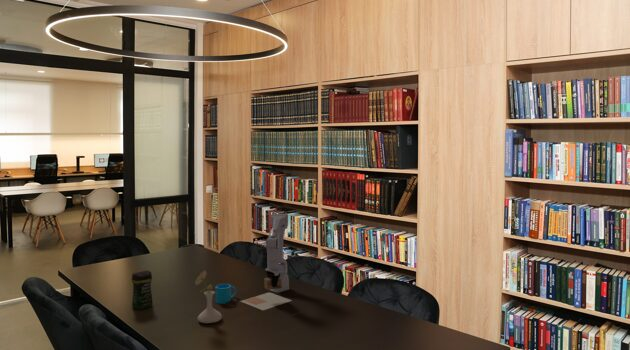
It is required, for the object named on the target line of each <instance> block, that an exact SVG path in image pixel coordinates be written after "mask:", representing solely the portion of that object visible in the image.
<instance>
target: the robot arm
mask: <svg viewBox="0 0 630 350" xmlns="http://www.w3.org/2000/svg"><path fill="white" fill-rule="evenodd" d="M269 216H270V218H269V219H270V220H269V221H270V224H271V229H270V231H269V234H268V237H267V238H266V240H265V246H266V255H267V256H266V257H267V258H266V259H267V260H266V261H267V266H266V267H267V268H265V270H264V271H265V273H266V276H267V278H269V277H270V278H271V282H272V287H277V282H278V279H279V277H280V278H281V281H282V288H279V289H271V290H270V291H272V292H275V293H281V292H285V291H288V290H290V278H289V275H288V262H287V259H285V258H283V255H284V254H283V253H284V237H285V235H284V234H285V230H286V229H288V227H289V214H288V213H270V215H269Z"/></svg>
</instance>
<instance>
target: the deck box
mask: <svg viewBox="0 0 630 350" xmlns="http://www.w3.org/2000/svg"><path fill="white" fill-rule="evenodd" d="M263 280H264V283H263V285H264V289H266V290H267V291H271V289H279V288H282V281H281V278H280V277H279V279H278V282H277V287H272V282H271V278H270V277H269V278H268V277H264V279H263Z"/></svg>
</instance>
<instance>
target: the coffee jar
mask: <svg viewBox="0 0 630 350" xmlns="http://www.w3.org/2000/svg"><path fill="white" fill-rule="evenodd" d="M131 275H132V276H131V283H132V287H133V288H132V290H133V291H132V300H131V301H132V302H131V307H132V308H133V309H134V310H143V309H148V308H150V307H152V306H153V295H152V280H153V275H152V272H151V271H150V270H142V271H138V272H133V273H132V274H131Z"/></svg>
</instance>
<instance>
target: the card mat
mask: <svg viewBox="0 0 630 350" xmlns="http://www.w3.org/2000/svg"><path fill="white" fill-rule="evenodd" d="M292 301H293V300H291V299H290V298H286V297H283V296H281V295H277V294H275V293H272V292H270V291H269V292H265V293H262V294H259V295H256V296H253V297H249V298H247V299H243V300H240V303H243V304H246V305H248V306H250V307H251V306H252V307H253V308H255V309H258V310H261V311H266V310H269V309H271V308H274V307H277V306H280V305H283V304H287V303H289V302H292Z"/></svg>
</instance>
